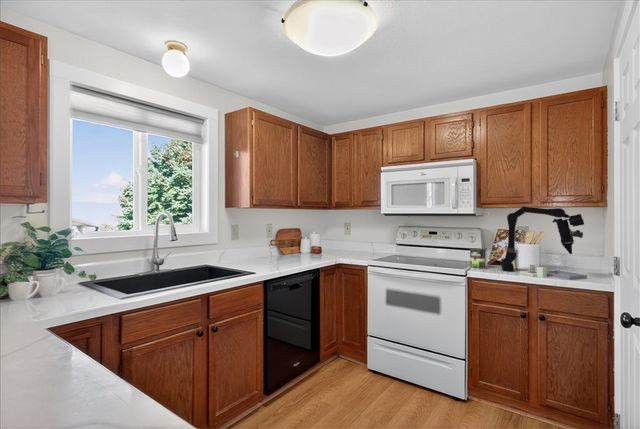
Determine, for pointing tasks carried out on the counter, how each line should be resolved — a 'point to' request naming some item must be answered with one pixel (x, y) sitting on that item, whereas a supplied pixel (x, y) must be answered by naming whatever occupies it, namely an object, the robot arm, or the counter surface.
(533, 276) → the stake stand
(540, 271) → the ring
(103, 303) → the counter surface
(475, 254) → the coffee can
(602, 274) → the counter surface
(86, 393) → the counter surface
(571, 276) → the tray
